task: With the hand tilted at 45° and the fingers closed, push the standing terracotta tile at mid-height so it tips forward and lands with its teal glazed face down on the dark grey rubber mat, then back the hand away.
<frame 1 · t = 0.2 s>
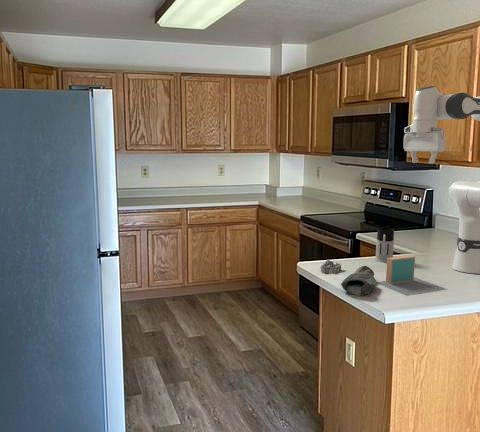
hand: (423, 163, 204), 48 cm above the countertop, fingers open, 8 cm apart
tile: (399, 281, 203), point 1 cm above the countertop, touching mat
egg carton: (331, 271, 220), on the countertop
detergent: (361, 287, 198), on the countertop
glass holder: (383, 261, 237), on the countertop
mat: (410, 287, 198), on the countertop
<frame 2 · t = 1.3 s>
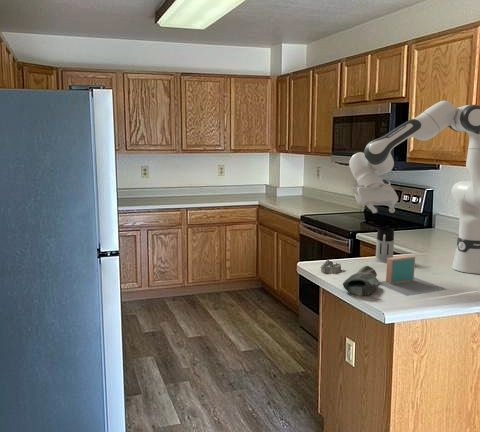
hand: (384, 212, 209), 27 cm above the countertop, fingers open, 8 cm apart
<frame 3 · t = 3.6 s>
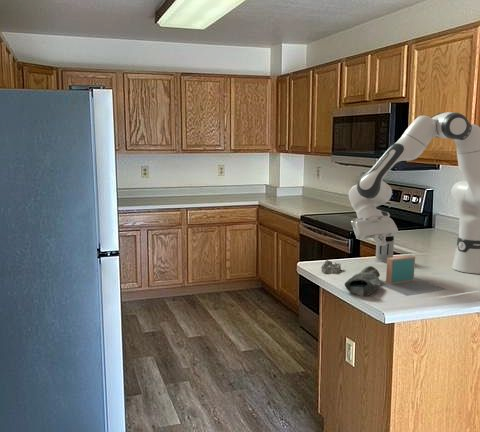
hand: (383, 244, 211), 13 cm above the countertop, fingers closed
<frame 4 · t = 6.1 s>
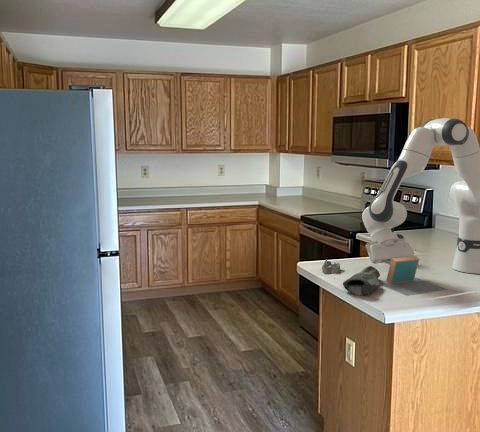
hand: (399, 269, 203), 5 cm above the countertop, fingers closed
tile: (399, 280, 203), point 1 cm above the countertop, tilted 14°, touching mat
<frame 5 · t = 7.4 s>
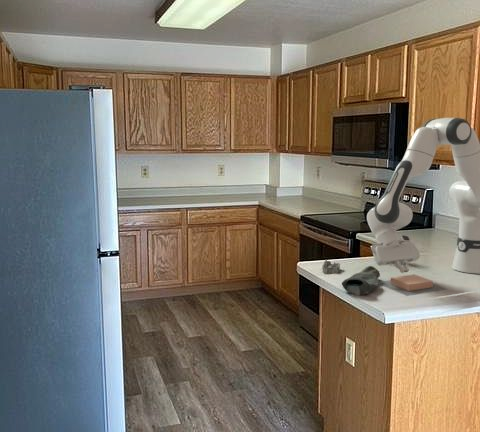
hand: (405, 271, 200), 5 cm above the countertop, fingers closed
tile: (402, 278, 202), point 2 cm above the countertop, tilted 90°, touching mat
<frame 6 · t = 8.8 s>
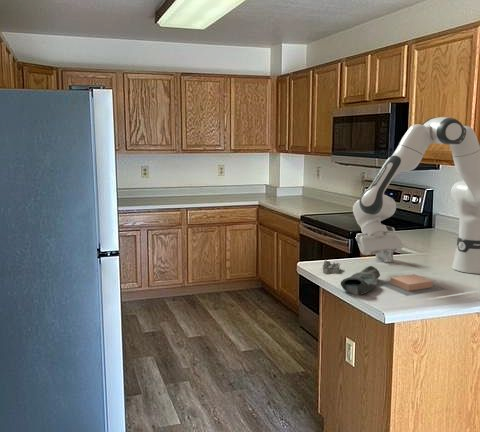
hand: (388, 260, 208), 7 cm above the countertop, fingers closed
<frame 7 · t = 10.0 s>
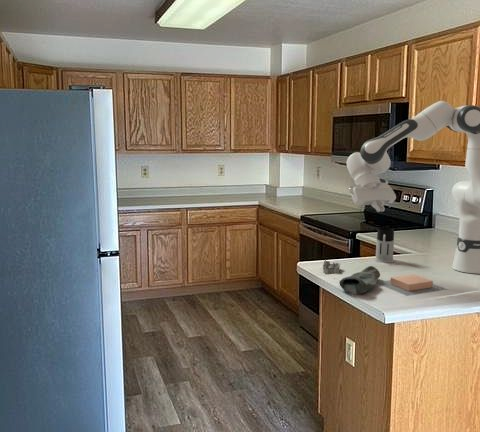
hand: (381, 210, 211), 27 cm above the countertop, fingers closed
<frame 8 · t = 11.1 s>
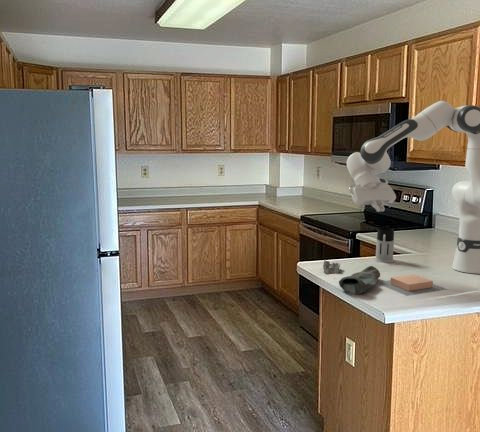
hand: (381, 210, 211), 27 cm above the countertop, fingers closed
at the end: tile tilted 90°; tile inside the target area (3.1 cm from its centre), point 2.0 cm above the countertop; tile touching mat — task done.
